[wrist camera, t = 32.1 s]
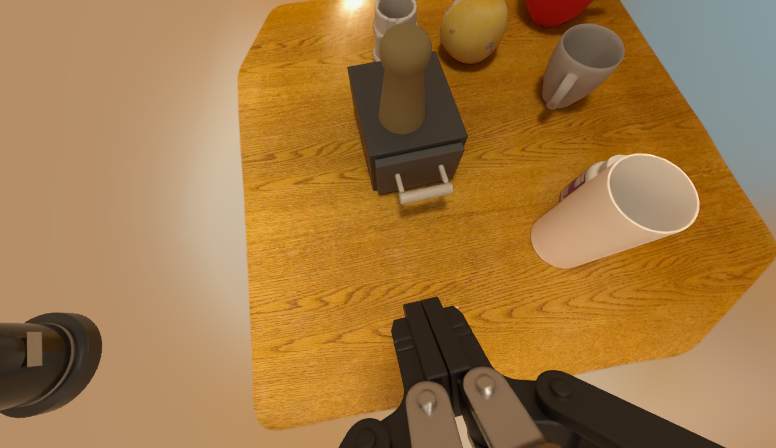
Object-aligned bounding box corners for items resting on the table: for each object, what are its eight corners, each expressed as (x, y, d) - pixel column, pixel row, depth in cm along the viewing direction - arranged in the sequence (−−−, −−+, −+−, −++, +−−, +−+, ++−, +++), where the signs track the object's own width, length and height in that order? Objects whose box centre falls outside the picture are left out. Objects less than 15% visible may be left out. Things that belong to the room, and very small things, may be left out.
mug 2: (545, 67, 53) (577, 14, 44) (592, 90, 51) (635, 39, 42) (513, 112, 50) (540, 65, 41) (562, 138, 48) (602, 95, 39)
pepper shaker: (368, 111, 38) (361, 32, 28) (404, 88, 40) (409, 3, 29) (398, 142, 37) (402, 70, 27) (435, 117, 38) (452, 38, 28)
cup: (552, 278, 41) (648, 249, 26) (519, 226, 43) (588, 172, 28) (601, 253, 42) (720, 211, 27) (566, 204, 44) (657, 141, 29)
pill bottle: (602, 212, 44) (657, 182, 35) (569, 222, 44) (617, 194, 34) (584, 181, 46) (632, 144, 37) (552, 190, 45) (593, 155, 36)
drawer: (461, 204, 44) (475, 178, 36) (385, 220, 43) (384, 198, 35) (428, 107, 49) (435, 69, 42) (360, 121, 49) (355, 83, 41)
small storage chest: (452, 174, 46) (468, 136, 37) (373, 190, 45) (369, 156, 36) (427, 100, 51) (435, 50, 42) (354, 114, 50) (347, 66, 41)
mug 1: (377, 81, 52) (374, 13, 41) (366, 32, 56) (360, -42, 45) (420, 74, 53) (428, 5, 41) (406, 27, 57) (410, -49, 45)
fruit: (506, 53, 54) (531, -5, 45) (466, 84, 52) (482, 30, 43) (465, 23, 57) (480, -38, 47) (425, 52, 55) (432, -6, 45)
